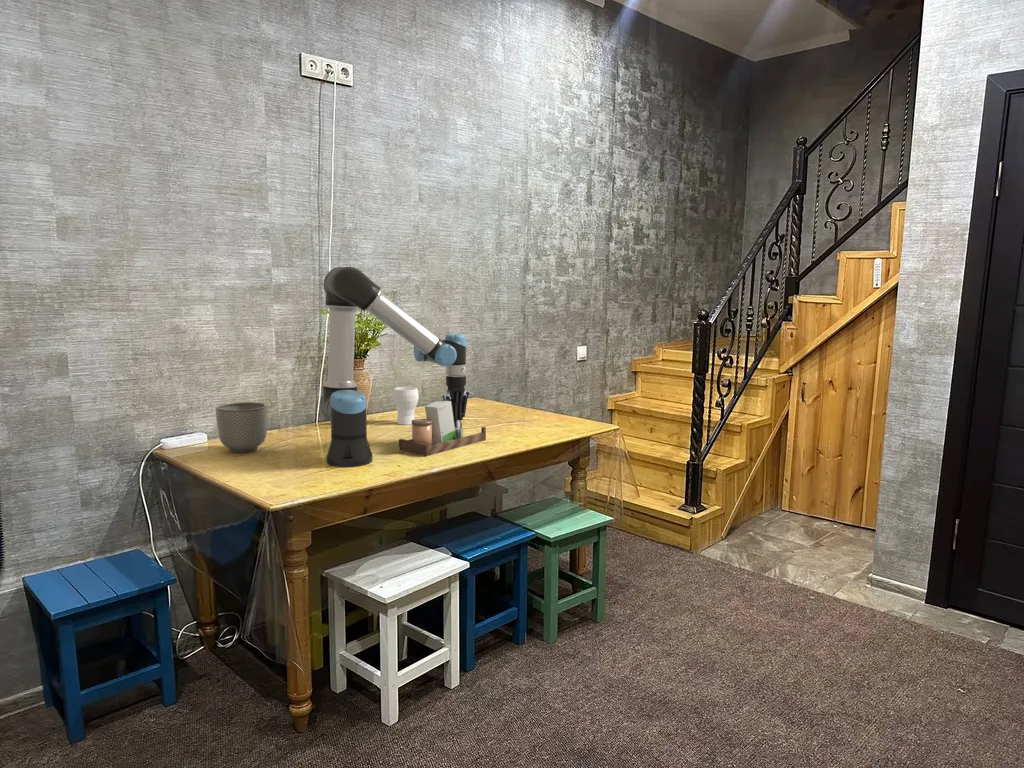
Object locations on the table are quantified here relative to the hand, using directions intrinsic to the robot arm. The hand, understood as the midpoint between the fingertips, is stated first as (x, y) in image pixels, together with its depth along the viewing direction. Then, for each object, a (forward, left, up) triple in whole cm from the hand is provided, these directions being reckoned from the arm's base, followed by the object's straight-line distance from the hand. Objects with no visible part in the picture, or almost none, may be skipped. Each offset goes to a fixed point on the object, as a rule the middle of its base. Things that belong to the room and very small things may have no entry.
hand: (456, 436), depth 269 cm
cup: (+12, +39, -2) cm, 41 cm away
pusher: (-1, 0, -2) cm, 2 cm away
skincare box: (-7, 0, -1) cm, 7 cm away
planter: (-59, +48, -2) cm, 76 cm away
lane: (-7, 0, -2) cm, 7 cm away
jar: (-19, 0, -2) cm, 19 cm away
